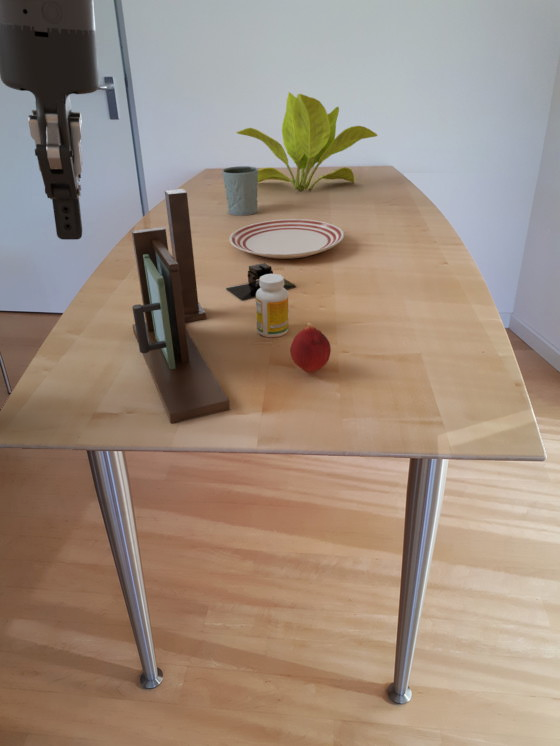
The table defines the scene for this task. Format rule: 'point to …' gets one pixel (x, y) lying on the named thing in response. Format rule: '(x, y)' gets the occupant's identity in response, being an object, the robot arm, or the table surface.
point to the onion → (310, 349)
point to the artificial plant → (308, 141)
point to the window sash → (154, 315)
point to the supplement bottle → (272, 306)
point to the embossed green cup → (241, 189)
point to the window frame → (175, 340)
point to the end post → (183, 252)
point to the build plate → (254, 282)
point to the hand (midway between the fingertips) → (70, 236)
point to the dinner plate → (287, 238)
